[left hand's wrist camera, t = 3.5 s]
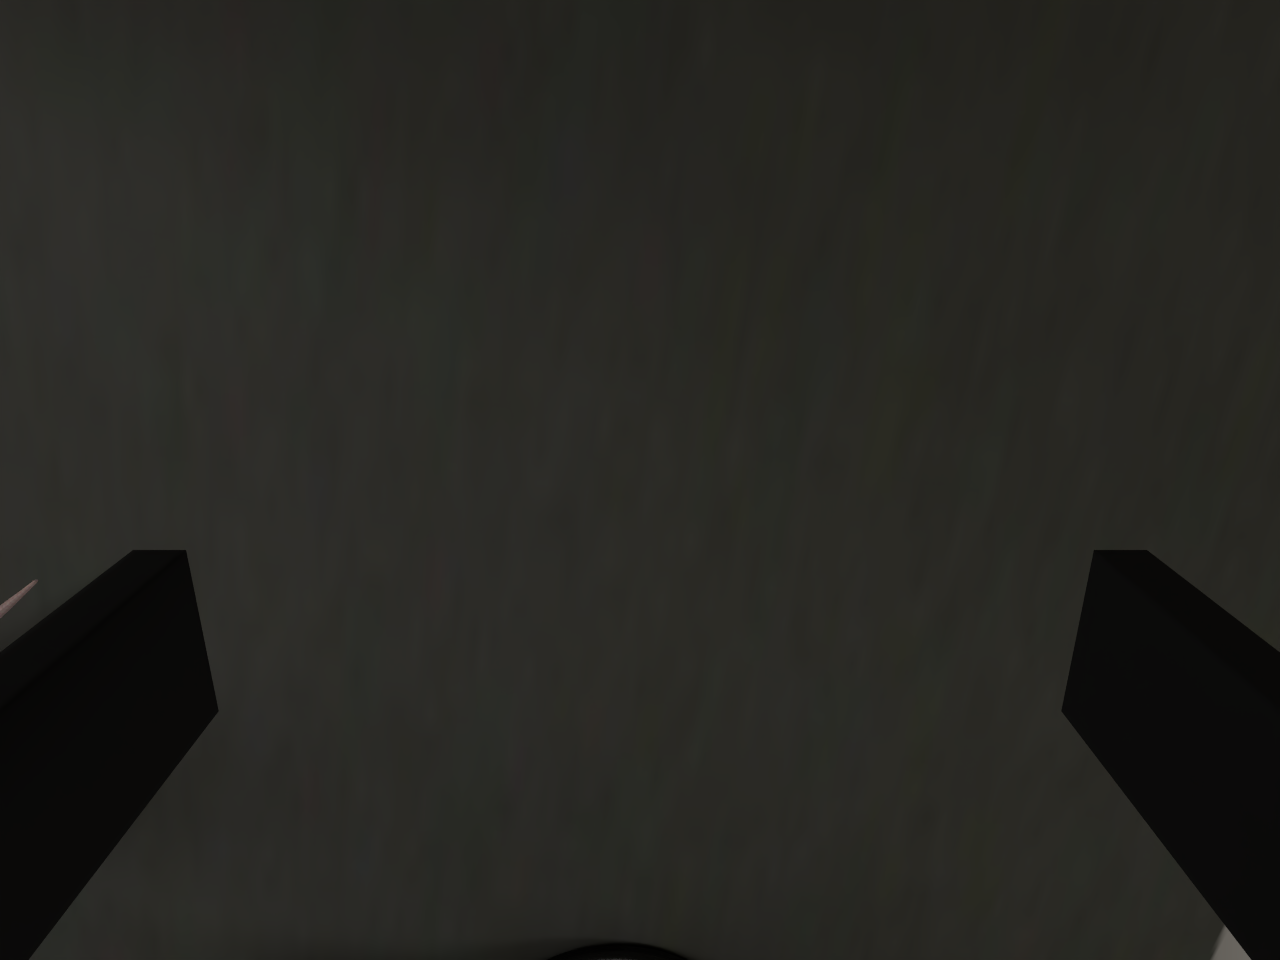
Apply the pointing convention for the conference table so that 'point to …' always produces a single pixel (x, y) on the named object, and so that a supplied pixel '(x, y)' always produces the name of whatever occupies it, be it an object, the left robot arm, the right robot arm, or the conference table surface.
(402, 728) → the conference table surface
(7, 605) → the toy
